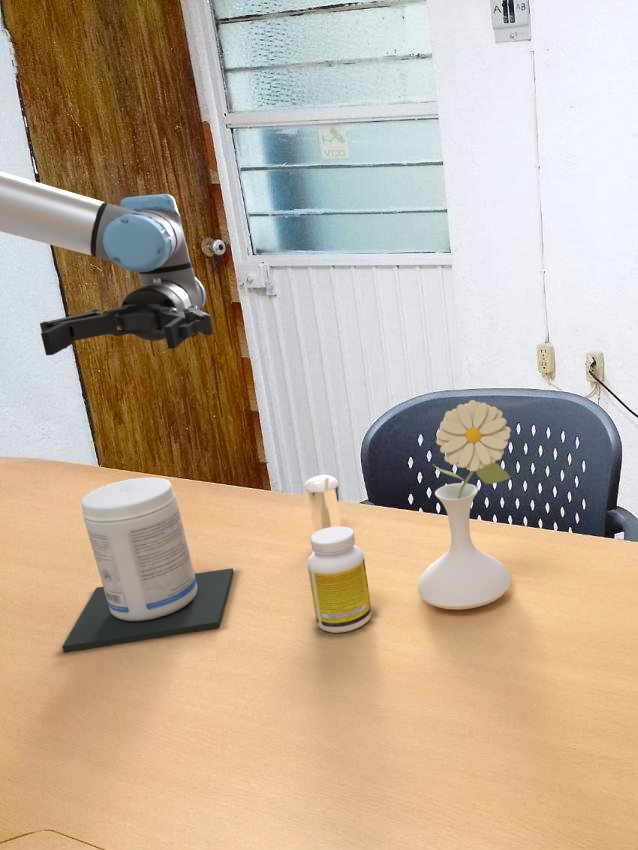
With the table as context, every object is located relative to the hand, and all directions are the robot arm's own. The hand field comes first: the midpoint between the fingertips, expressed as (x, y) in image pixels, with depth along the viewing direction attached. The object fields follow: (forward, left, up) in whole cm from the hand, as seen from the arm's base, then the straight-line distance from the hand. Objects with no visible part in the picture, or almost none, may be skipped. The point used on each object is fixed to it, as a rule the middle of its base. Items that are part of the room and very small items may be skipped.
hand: (108, 341), depth 101 cm
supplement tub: (+2, -13, -30) cm, 33 cm away
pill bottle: (+24, -23, -31) cm, 45 cm away
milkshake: (+22, +1, -31) cm, 38 cm away
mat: (+2, -13, -31) cm, 33 cm away
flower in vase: (+39, -22, -31) cm, 54 cm away
